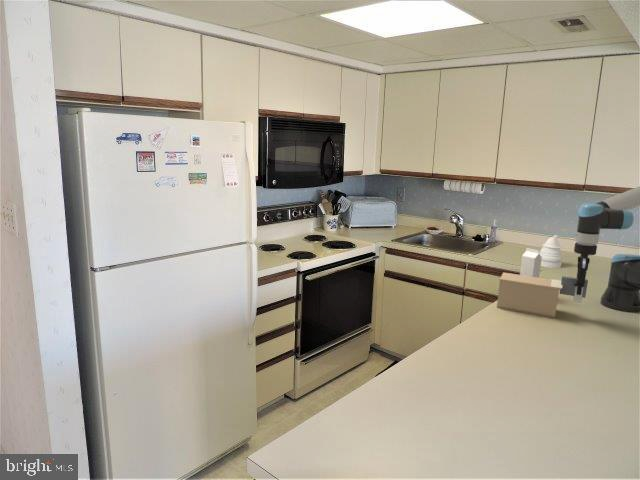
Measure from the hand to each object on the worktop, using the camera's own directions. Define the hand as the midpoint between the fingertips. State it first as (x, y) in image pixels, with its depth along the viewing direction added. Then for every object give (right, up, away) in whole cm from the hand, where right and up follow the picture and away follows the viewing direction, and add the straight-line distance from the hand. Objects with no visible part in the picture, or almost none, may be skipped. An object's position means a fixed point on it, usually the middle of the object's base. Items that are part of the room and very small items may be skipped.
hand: (577, 300), depth 180 cm
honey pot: (+31, +9, +84) cm, 90 cm away
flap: (-12, +4, +6) cm, 13 cm away
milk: (-8, -2, +27) cm, 28 cm away
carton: (-16, -5, +10) cm, 19 cm away
